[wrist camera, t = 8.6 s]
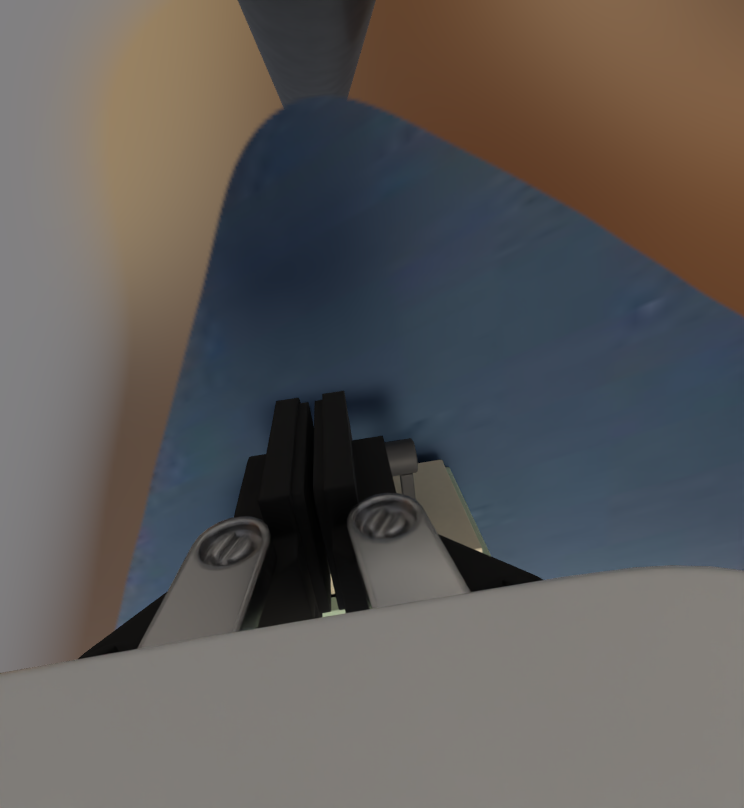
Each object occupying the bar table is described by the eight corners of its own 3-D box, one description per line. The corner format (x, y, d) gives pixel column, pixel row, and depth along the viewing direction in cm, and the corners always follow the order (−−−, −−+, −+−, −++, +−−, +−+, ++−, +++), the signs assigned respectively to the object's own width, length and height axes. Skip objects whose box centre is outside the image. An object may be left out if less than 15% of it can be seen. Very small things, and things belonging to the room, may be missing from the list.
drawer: (230, 424, 26) (197, 512, 19) (436, 392, 26) (479, 465, 19) (294, 650, 33) (287, 774, 26) (454, 621, 34) (490, 736, 27)
